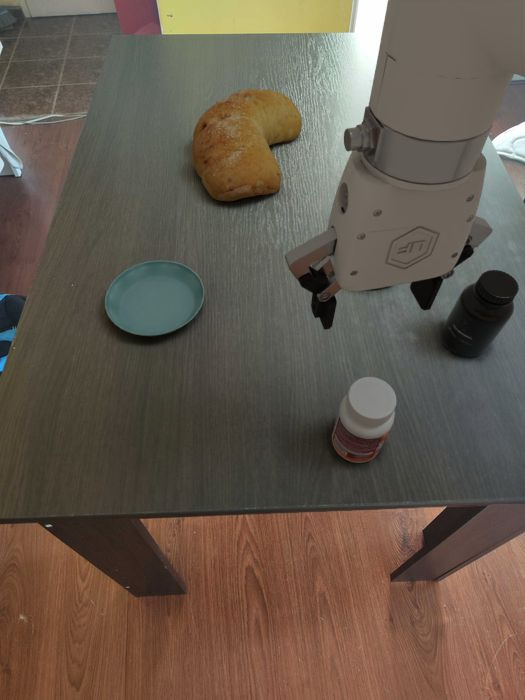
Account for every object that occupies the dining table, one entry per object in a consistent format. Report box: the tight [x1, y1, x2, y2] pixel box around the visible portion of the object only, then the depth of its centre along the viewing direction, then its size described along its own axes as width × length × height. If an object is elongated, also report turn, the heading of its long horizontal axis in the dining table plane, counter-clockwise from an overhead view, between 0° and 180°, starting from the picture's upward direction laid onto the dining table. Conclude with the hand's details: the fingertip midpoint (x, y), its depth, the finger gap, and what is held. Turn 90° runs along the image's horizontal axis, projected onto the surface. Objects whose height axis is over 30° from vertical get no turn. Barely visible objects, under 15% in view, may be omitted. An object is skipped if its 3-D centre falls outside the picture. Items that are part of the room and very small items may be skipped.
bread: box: [191, 88, 303, 202], centre depth 89 cm, size 32×20×10 cm, turn 165°
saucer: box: [104, 259, 206, 337], centre depth 70 cm, size 15×15×3 cm
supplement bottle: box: [440, 269, 520, 358], centre depth 63 cm, size 7×7×12 cm
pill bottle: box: [331, 376, 397, 464], centre depth 54 cm, size 6×6×11 cm
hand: (371, 308), depth 44 cm, fingers open, 9 cm apart
